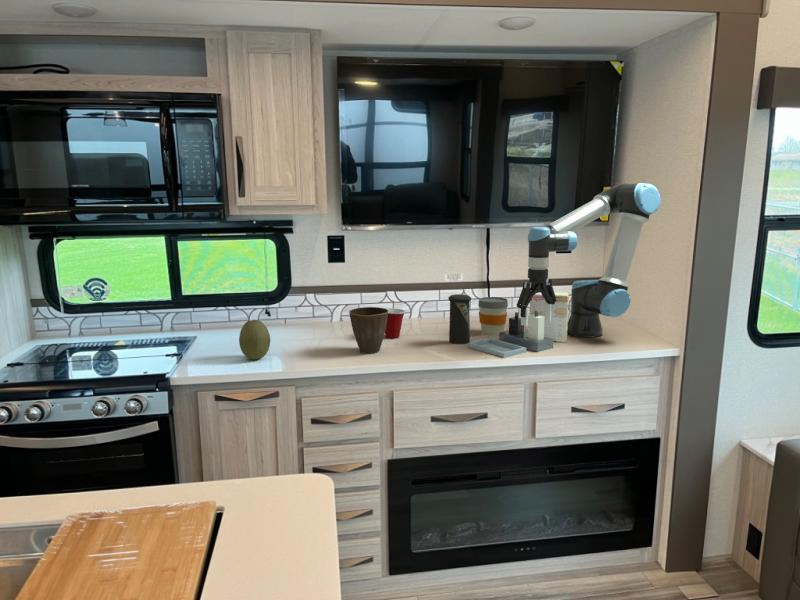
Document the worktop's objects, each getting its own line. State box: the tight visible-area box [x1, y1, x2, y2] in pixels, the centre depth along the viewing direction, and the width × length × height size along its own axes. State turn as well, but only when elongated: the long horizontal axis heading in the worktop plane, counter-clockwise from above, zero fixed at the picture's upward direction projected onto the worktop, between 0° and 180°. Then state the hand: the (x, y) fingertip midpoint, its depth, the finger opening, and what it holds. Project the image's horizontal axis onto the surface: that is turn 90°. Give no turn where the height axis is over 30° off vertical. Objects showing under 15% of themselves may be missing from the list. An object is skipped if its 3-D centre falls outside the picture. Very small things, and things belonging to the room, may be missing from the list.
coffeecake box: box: [528, 291, 570, 343], centre depth 244 cm, size 15×7×20 cm, turn 70°
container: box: [447, 293, 472, 345], centre depth 238 cm, size 9×9×20 cm
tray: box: [467, 337, 528, 359], centre depth 228 cm, size 12×19×2 cm, turn 37°
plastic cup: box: [384, 307, 406, 340], centre depth 250 cm, size 11×11×12 cm
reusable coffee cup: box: [477, 296, 509, 336], centre depth 254 cm, size 13×13×15 cm
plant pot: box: [348, 306, 388, 355], centre depth 229 cm, size 15×15×16 cm
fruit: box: [238, 319, 271, 361], centre depth 220 cm, size 11×11×15 cm
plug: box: [527, 311, 544, 341], centre depth 229 cm, size 5×4×14 cm
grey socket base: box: [498, 311, 554, 353], centre depth 233 cm, size 9×20×13 cm, turn 37°
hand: (536, 322), depth 229 cm, fingers open, 13 cm apart
